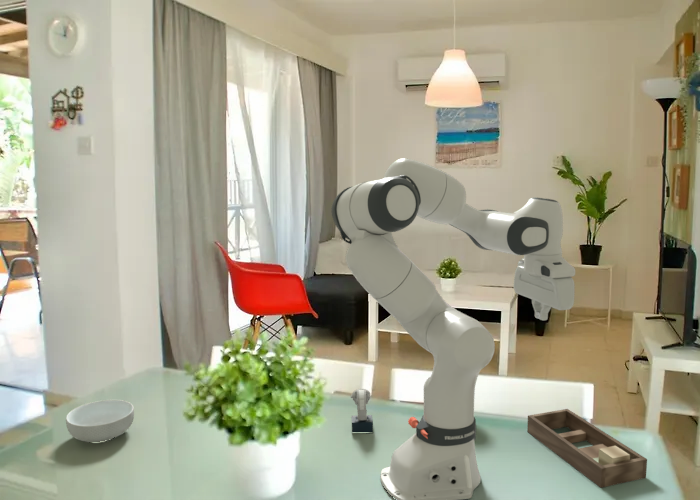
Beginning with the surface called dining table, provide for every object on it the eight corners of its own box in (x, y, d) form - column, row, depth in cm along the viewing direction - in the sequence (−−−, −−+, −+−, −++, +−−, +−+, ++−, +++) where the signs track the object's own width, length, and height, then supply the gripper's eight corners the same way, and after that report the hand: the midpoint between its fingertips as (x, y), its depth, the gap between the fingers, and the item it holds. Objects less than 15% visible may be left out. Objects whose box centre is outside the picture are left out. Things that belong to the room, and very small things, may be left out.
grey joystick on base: (371, 422, 167) (371, 384, 165) (373, 436, 159) (372, 396, 157) (351, 423, 167) (350, 384, 165) (351, 437, 159) (350, 397, 157)
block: (612, 473, 135) (613, 458, 134) (598, 463, 139) (599, 448, 138) (629, 469, 136) (629, 454, 136) (614, 459, 140) (615, 445, 140)
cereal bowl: (132, 447, 156) (130, 421, 155) (62, 456, 153) (59, 429, 151) (138, 419, 173) (136, 395, 172) (75, 426, 169) (72, 402, 168)
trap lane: (600, 487, 133) (601, 468, 132) (527, 431, 159) (527, 415, 158) (645, 477, 136) (647, 459, 135) (566, 424, 163) (567, 408, 162)
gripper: (508, 257, 158) (507, 309, 160) (556, 272, 139) (555, 331, 141) (529, 256, 160) (528, 307, 162) (580, 270, 140) (578, 328, 143)
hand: (541, 318), depth 151 cm, fingers closed
